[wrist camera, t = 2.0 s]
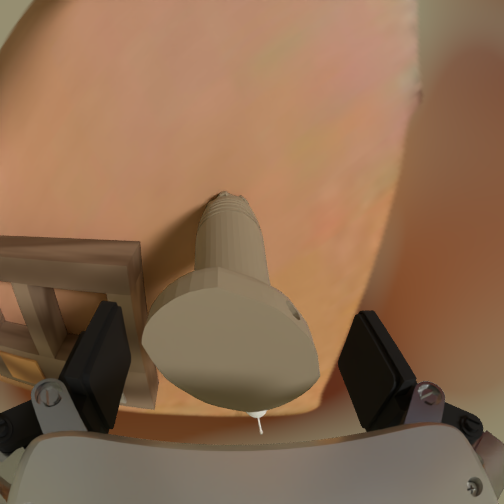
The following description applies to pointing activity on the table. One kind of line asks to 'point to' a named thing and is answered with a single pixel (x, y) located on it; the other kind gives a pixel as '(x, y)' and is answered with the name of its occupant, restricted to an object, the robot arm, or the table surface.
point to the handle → (231, 320)
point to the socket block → (48, 313)
